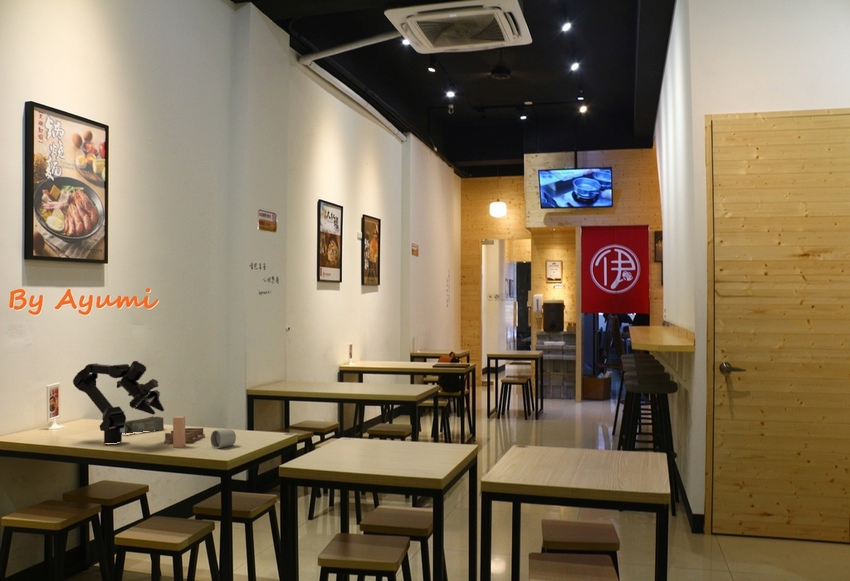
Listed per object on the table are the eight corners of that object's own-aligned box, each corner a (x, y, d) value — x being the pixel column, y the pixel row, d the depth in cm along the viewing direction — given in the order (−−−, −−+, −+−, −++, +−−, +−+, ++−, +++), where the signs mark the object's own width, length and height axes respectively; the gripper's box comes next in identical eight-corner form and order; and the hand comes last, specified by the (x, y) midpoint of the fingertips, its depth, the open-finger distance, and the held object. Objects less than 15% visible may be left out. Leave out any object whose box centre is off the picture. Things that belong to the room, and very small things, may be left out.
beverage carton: (117, 434, 327) (117, 420, 327) (157, 428, 341) (157, 415, 341) (124, 436, 321) (124, 422, 322) (164, 430, 335) (164, 416, 335)
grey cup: (237, 446, 293) (236, 428, 293) (220, 449, 286) (220, 431, 287) (222, 443, 299) (222, 426, 300) (205, 447, 293) (205, 428, 293)
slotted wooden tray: (163, 443, 301) (163, 434, 301) (179, 436, 317) (178, 427, 317) (190, 443, 300) (190, 434, 300) (204, 436, 316) (204, 427, 316)
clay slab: (173, 447, 293) (173, 417, 293) (176, 445, 296) (175, 416, 296) (182, 447, 293) (182, 417, 293) (185, 445, 296) (185, 416, 296)
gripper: (136, 375, 290) (162, 401, 289) (155, 371, 308) (180, 395, 307) (117, 395, 290) (144, 420, 289) (138, 390, 308) (163, 414, 307)
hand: (159, 412), depth 298 cm, fingers open, 9 cm apart
